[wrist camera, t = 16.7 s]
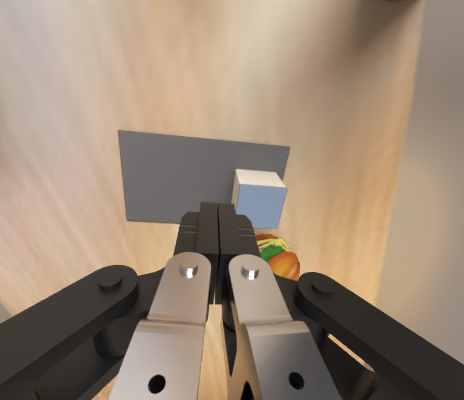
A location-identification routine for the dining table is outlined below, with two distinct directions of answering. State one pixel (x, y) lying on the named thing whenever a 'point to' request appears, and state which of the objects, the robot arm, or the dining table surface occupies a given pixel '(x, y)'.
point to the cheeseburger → (278, 256)
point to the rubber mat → (186, 172)
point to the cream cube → (259, 197)
